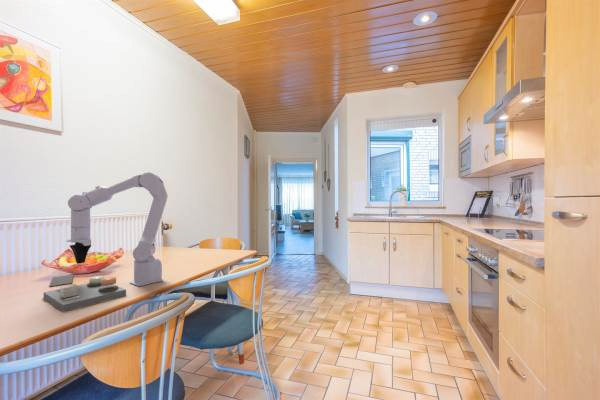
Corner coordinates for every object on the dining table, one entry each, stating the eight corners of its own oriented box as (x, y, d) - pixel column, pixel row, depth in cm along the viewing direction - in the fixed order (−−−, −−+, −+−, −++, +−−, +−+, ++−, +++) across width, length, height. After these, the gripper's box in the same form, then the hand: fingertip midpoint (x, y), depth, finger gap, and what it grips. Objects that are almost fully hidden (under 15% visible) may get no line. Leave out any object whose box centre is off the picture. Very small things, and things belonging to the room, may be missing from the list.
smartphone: (48, 286, 103) (52, 277, 114) (48, 288, 103) (52, 279, 114) (72, 282, 107) (73, 274, 119) (72, 285, 107) (73, 276, 119)
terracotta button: (112, 281, 97) (112, 276, 97) (118, 283, 94) (118, 278, 94) (98, 284, 93) (98, 279, 93) (103, 286, 91) (103, 281, 91)
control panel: (102, 285, 105) (102, 278, 105) (126, 295, 94) (126, 287, 94) (43, 298, 91) (43, 290, 91) (63, 311, 80) (63, 303, 80)
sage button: (101, 280, 103) (101, 275, 103) (106, 282, 100) (106, 277, 100) (87, 283, 99) (87, 278, 99) (92, 285, 96) (92, 280, 96)
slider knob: (74, 293, 90) (74, 283, 90) (77, 294, 88) (77, 285, 88) (60, 296, 87) (60, 286, 87) (63, 298, 85) (63, 288, 85)
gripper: (60, 226, 103) (60, 262, 103) (74, 229, 95) (74, 267, 95) (83, 225, 109) (83, 259, 109) (98, 227, 100) (97, 263, 100)
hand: (80, 263), depth 102 cm, fingers closed
